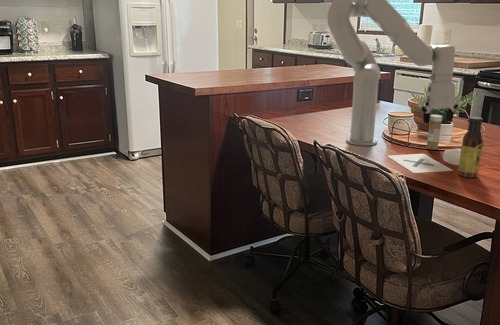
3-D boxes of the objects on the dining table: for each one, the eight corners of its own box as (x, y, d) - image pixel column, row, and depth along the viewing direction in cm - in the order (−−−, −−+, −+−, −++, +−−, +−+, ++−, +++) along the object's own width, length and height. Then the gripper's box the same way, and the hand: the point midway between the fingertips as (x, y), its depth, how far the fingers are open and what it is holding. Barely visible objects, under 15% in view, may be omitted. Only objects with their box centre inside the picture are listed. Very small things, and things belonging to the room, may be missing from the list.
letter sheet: (386, 155, 185) (386, 155, 185) (422, 153, 188) (422, 153, 188) (413, 173, 166) (413, 173, 166) (453, 170, 169) (453, 170, 169)
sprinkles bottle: (424, 147, 197) (428, 114, 193) (434, 146, 197) (439, 114, 193) (429, 150, 193) (433, 116, 188) (440, 150, 193) (444, 116, 189)
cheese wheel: (482, 161, 180) (483, 152, 179) (471, 169, 172) (472, 159, 171) (449, 154, 188) (451, 145, 187) (437, 161, 180) (438, 152, 178)
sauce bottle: (478, 179, 161) (487, 120, 155) (457, 177, 163) (466, 119, 157) (477, 173, 167) (486, 116, 160) (457, 171, 169) (465, 115, 163)
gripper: (426, 80, 181) (422, 125, 186) (468, 78, 184) (463, 122, 189) (415, 78, 188) (412, 121, 193) (456, 75, 191) (451, 118, 196)
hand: (437, 122), depth 191 cm, fingers open, 9 cm apart
